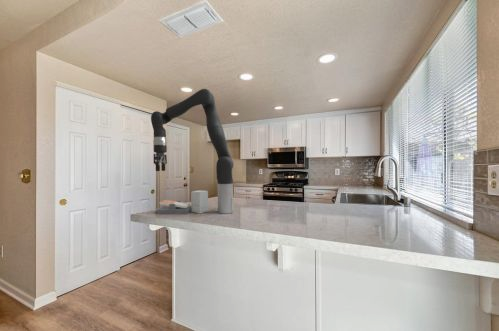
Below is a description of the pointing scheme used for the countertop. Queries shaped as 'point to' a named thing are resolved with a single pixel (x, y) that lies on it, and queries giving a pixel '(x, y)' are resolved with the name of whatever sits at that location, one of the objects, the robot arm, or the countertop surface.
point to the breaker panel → (173, 209)
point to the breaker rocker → (177, 204)
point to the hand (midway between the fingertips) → (160, 171)
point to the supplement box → (199, 201)
